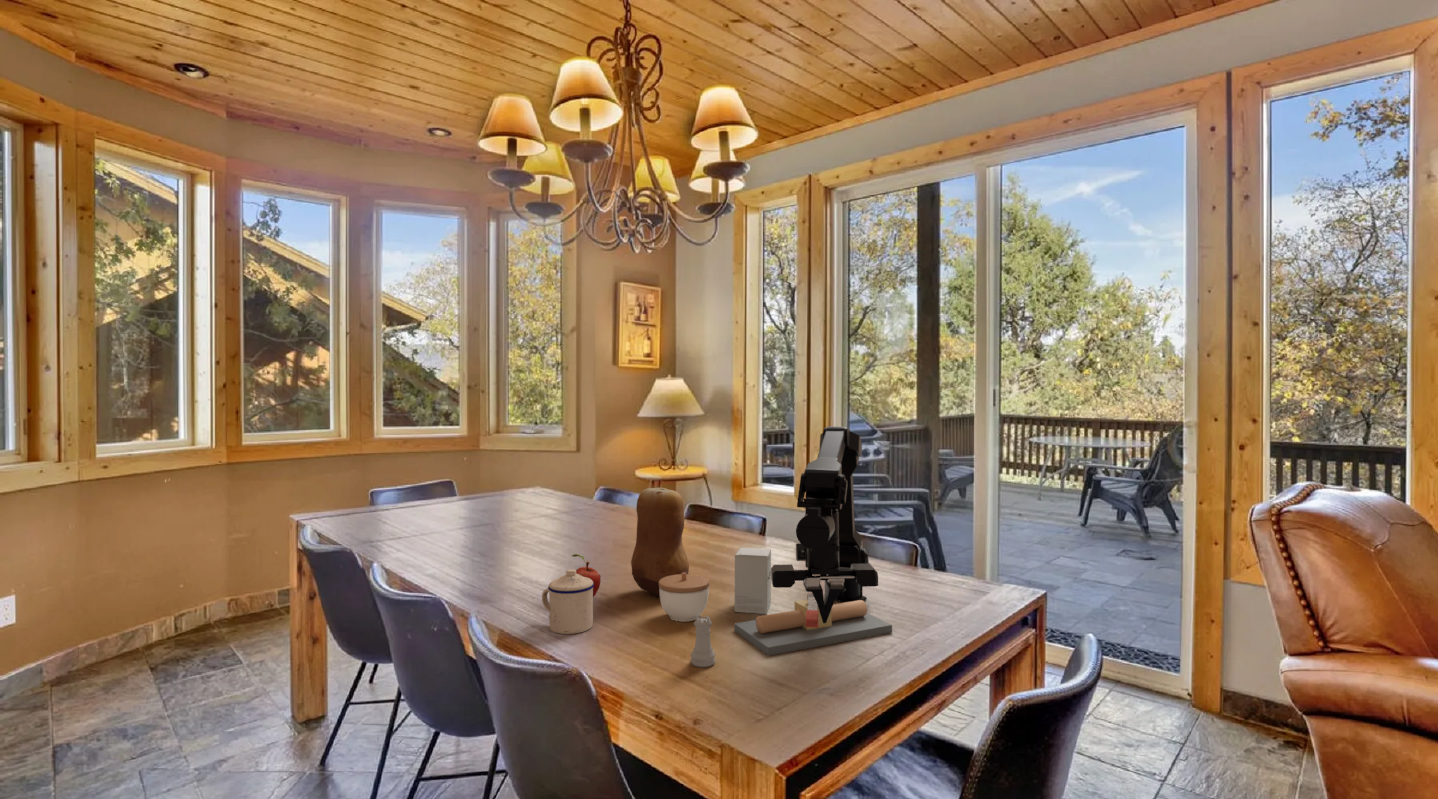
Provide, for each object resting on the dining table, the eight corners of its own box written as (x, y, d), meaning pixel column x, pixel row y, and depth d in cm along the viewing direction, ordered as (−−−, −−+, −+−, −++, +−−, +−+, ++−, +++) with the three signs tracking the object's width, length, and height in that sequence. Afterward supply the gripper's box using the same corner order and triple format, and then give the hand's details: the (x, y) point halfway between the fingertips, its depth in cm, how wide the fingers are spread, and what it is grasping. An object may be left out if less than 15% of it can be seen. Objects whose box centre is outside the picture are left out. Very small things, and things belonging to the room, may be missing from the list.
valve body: (850, 611, 147) (850, 583, 147) (892, 632, 134) (892, 601, 134) (734, 630, 135) (734, 599, 135) (768, 655, 123) (768, 621, 123)
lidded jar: (683, 629, 136) (683, 583, 136) (648, 617, 143) (648, 573, 143) (719, 616, 144) (719, 572, 144) (684, 605, 151) (684, 563, 151)
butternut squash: (695, 586, 166) (694, 484, 165) (680, 603, 152) (680, 493, 152) (640, 583, 168) (640, 483, 168) (622, 600, 155) (622, 491, 155)
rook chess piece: (689, 658, 121) (689, 614, 121) (714, 657, 122) (714, 613, 122) (690, 668, 117) (690, 622, 117) (716, 667, 117) (716, 621, 117)
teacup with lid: (603, 623, 140) (602, 567, 139) (574, 638, 131) (574, 578, 131) (557, 615, 145) (557, 560, 145) (527, 628, 137) (527, 571, 137)
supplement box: (767, 614, 145) (767, 556, 145) (733, 612, 147) (733, 554, 146) (771, 604, 152) (771, 548, 152) (739, 602, 154) (739, 546, 154)
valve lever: (806, 599, 136) (806, 592, 136) (819, 599, 136) (819, 592, 136) (805, 626, 120) (805, 619, 120) (818, 627, 120) (818, 619, 120)
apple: (604, 594, 160) (604, 551, 160) (596, 602, 153) (596, 558, 153) (573, 593, 161) (573, 551, 161) (563, 601, 154) (563, 558, 154)
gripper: (865, 527, 131) (866, 607, 131) (768, 528, 131) (770, 608, 131) (878, 539, 119) (879, 627, 120) (772, 541, 120) (773, 629, 120)
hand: (824, 622), depth 123 cm, fingers closed
